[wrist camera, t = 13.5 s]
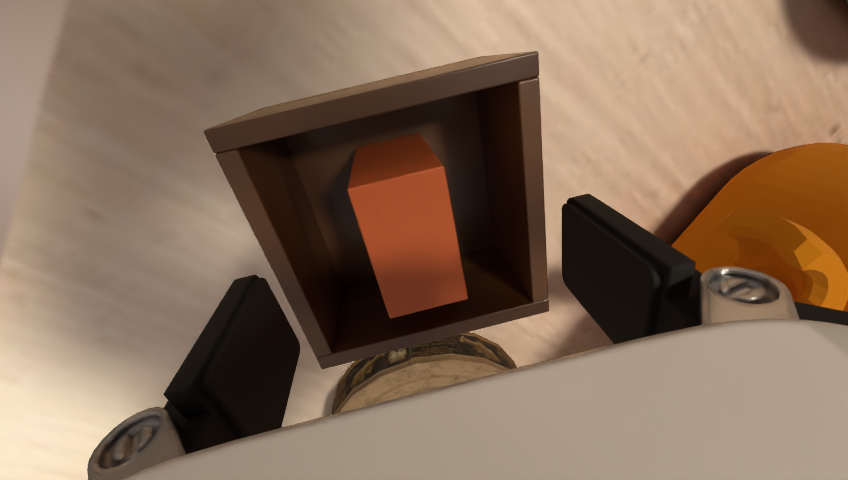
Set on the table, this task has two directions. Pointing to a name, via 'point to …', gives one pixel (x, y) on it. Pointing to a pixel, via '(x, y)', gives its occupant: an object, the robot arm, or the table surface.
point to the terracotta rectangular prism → (407, 224)
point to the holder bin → (335, 219)
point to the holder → (782, 223)
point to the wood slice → (419, 370)
